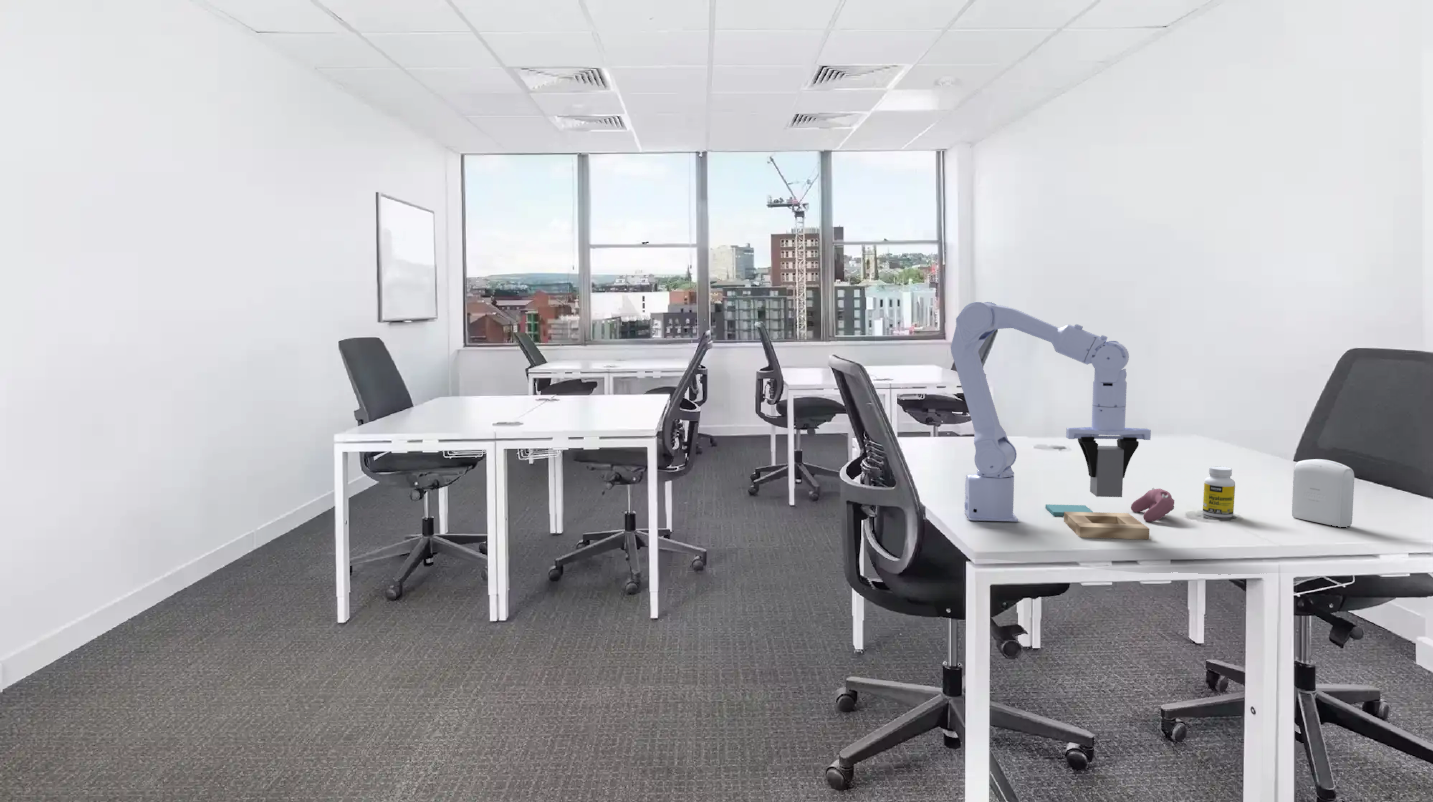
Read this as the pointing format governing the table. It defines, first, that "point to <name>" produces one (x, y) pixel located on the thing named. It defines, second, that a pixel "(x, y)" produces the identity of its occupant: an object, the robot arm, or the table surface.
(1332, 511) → the photo printer
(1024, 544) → the table surface
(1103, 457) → the plug
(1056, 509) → the rubber mat
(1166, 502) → the video game controller
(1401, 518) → the table surface
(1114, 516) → the square wooden frame
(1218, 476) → the supplement bottle
